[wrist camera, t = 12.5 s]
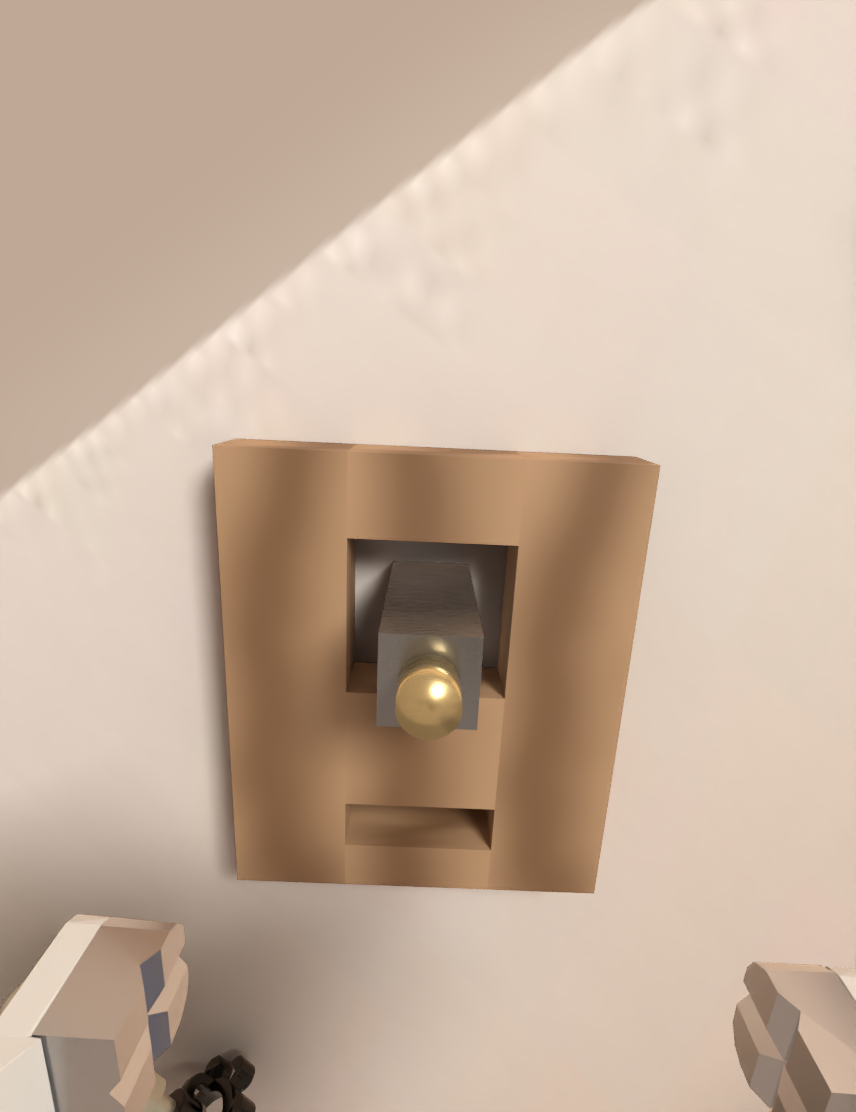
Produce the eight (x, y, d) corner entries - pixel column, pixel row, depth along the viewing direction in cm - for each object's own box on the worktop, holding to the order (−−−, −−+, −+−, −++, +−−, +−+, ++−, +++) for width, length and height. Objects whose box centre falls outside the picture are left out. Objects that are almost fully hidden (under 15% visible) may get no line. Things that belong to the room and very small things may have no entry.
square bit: (468, 564, 23) (489, 661, 15) (463, 633, 24) (481, 761, 16) (393, 561, 23) (373, 656, 15) (391, 631, 24) (371, 757, 16)
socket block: (635, 456, 22) (660, 465, 20) (579, 848, 27) (593, 893, 25) (236, 438, 22) (212, 445, 20) (254, 835, 27) (237, 879, 25)
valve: (13, 960, 29) (184, 1092, 32) (-102, 1119, 23) (124, 1267, 26) (103, 895, 28) (273, 1037, 31) (8, 1043, 22) (233, 1207, 24)
